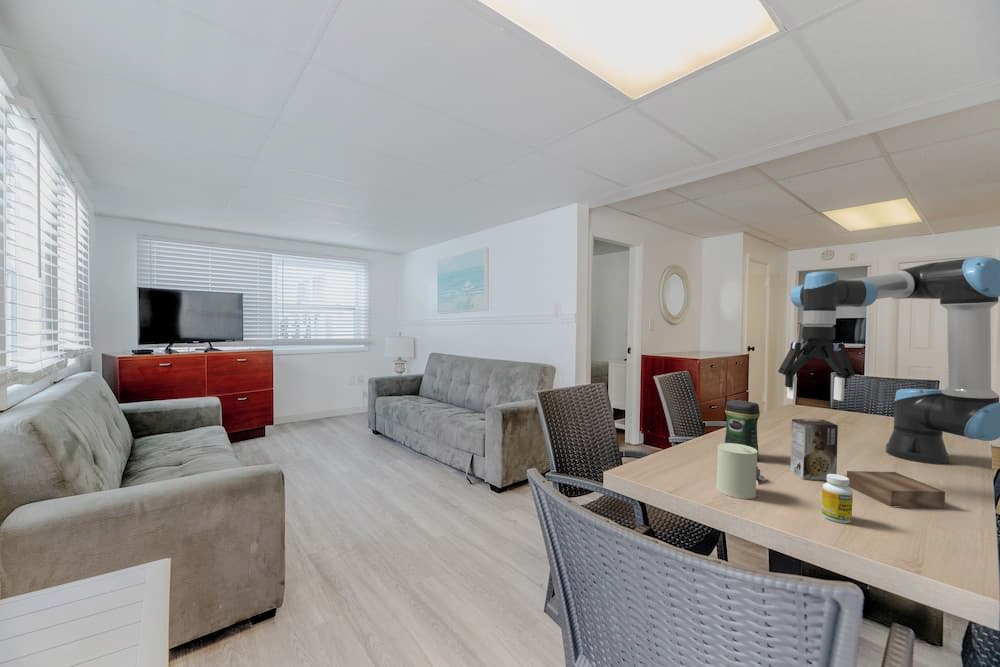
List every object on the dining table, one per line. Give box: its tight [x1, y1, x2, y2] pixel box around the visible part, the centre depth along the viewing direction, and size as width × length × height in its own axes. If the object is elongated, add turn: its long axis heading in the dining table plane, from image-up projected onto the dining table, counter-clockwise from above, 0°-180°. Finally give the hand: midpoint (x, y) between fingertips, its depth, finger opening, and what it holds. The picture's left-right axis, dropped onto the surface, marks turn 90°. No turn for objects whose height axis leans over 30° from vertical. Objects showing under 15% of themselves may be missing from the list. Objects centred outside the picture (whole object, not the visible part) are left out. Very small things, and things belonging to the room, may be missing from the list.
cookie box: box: [790, 418, 839, 481], centre depth 120 cm, size 9×6×16 cm
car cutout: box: [756, 466, 766, 486], centre depth 118 cm, size 15×7×4 cm, turn 127°
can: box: [715, 442, 759, 500], centre depth 108 cm, size 9×9×12 cm
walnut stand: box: [846, 470, 946, 509], centre depth 107 cm, size 13×13×4 cm
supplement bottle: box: [821, 473, 854, 524], centre depth 94 cm, size 5×5×10 cm
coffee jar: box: [724, 399, 761, 459], centre depth 137 cm, size 10×8×19 cm
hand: (814, 399), depth 120 cm, fingers open, 13 cm apart
